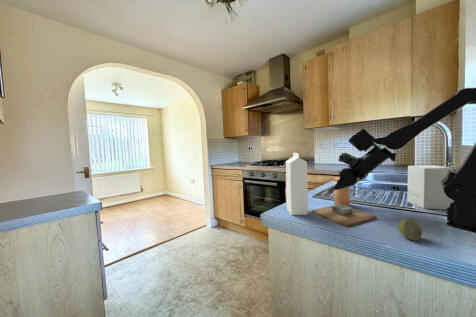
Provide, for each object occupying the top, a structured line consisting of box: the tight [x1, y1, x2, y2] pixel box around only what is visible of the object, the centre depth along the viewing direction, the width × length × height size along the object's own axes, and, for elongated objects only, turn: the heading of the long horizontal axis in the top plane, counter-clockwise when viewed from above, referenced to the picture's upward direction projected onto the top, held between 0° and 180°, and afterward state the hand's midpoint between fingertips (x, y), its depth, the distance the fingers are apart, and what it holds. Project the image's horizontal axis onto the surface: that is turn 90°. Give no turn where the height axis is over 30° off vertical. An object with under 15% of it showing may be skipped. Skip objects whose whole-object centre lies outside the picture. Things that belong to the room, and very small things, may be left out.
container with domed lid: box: [333, 176, 351, 207], centre depth 76 cm, size 6×6×11 cm
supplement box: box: [406, 164, 454, 210], centre depth 71 cm, size 9×9×15 cm
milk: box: [285, 152, 309, 216], centre depth 69 cm, size 6×6×22 cm
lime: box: [398, 218, 423, 241], centre depth 48 cm, size 4×5×5 cm
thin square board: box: [310, 204, 378, 228], centre depth 65 cm, size 14×14×3 cm
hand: (338, 187), depth 76 cm, fingers open, 9 cm apart
